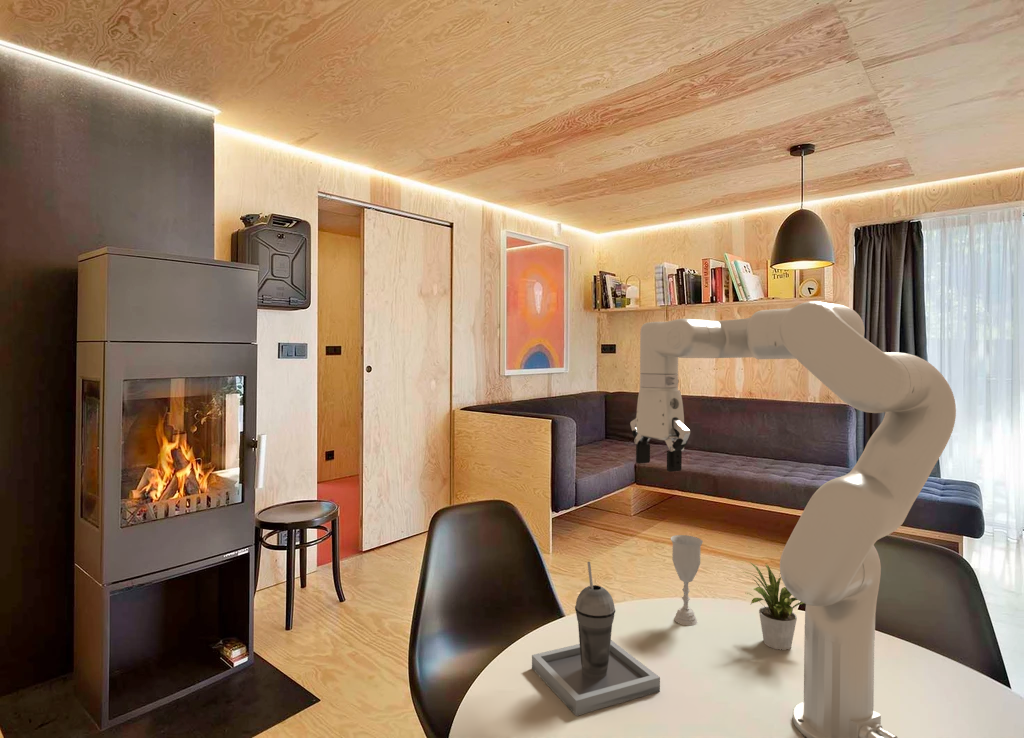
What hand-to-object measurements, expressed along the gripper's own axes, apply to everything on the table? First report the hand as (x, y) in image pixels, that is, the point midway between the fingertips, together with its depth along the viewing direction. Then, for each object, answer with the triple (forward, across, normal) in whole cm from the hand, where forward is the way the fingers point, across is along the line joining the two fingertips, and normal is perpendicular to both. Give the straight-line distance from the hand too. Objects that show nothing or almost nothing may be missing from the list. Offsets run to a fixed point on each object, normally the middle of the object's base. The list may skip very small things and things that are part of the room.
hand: (658, 466), depth 117 cm
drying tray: (+36, -6, +19) cm, 41 cm away
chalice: (+36, +6, -13) cm, 39 cm away
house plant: (+36, -9, -22) cm, 44 cm away
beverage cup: (+35, -6, +19) cm, 40 cm away
